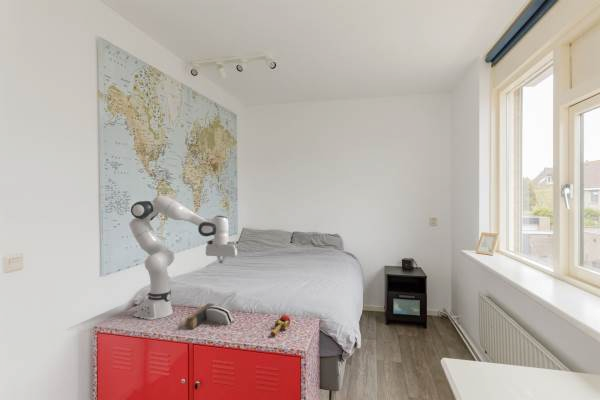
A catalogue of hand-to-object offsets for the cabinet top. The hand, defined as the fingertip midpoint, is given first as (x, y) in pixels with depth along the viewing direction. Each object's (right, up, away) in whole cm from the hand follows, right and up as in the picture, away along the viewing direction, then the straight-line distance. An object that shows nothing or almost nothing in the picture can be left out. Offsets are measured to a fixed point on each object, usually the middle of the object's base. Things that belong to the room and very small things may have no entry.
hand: (221, 263), depth 189 cm
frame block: (-9, -31, -13) cm, 35 cm away
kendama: (+39, -31, -26) cm, 56 cm away
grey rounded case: (+2, -32, -14) cm, 34 cm away
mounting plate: (-6, -31, -13) cm, 34 cm away
